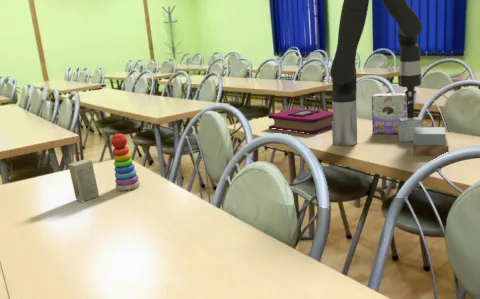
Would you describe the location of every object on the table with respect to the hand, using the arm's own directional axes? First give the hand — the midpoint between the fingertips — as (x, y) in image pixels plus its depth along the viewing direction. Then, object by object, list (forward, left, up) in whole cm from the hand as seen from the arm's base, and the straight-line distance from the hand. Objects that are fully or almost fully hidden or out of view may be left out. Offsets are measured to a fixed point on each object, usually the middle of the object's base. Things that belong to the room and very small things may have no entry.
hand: (410, 115), depth 172 cm
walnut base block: (+7, -15, -10) cm, 19 cm away
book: (-48, +25, -11) cm, 55 cm away
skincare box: (-95, -75, -10) cm, 122 cm away
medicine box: (0, 0, -10) cm, 10 cm away
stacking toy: (-87, -64, -10) cm, 109 cm away
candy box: (-8, +13, -10) cm, 19 cm away
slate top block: (+7, -15, -6) cm, 17 cm away
